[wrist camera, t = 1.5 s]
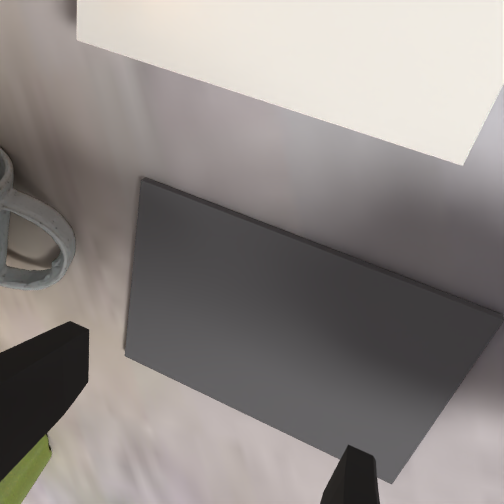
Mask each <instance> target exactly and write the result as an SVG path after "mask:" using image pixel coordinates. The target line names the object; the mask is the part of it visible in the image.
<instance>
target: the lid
mask: <svg viewBox="0 0 504 504" xmlns="http://www.w3.org/2000/svg"><path fill="white" fill-rule="evenodd" d="M77 41H80V42H83V43H87V44H90V45H93V46H96V47H99V48H102V49H105V50H108V51H111V52H114V53H117V54H120V55H123V56H126V57H130V58H133V59H136V60H139V61H142V62H145V63H148V64H151V65H154V66H157V67H160V68H163V69H166V70H169V71H173V72H176V73H179V74H182V75H185V76H188V77H191V78H194V79H197V80H200V81H203V82H206V83H209V84H213V85H216V86H219V87H222V88H225V89H228V90H231V91H234V92H237V93H240V94H243V95H246V96H249V97H252V98H256V99H259V100H262V101H265V102H268V103H271V104H274V105H277V106H280V107H283V108H286V109H289V110H292V111H295V112H299V113H302V114H305V115H308V116H311V117H314V118H317V119H320V120H323V121H326V122H329V123H332V124H335V125H338V126H342V127H345V128H348V129H351V130H354V131H357V132H360V133H363V134H366V135H369V136H372V137H375V138H378V139H381V140H385V141H388V142H391V143H394V144H397V145H400V146H403V147H406V148H409V149H412V150H415V151H418V152H421V153H424V154H428V155H431V156H434V157H437V158H440V159H443V160H446V161H449V162H452V163H455V164H458V165H461V166H463V164H464V162H465V160H466V158H467V156H468V154H469V152H470V150H471V148H472V146H473V144H474V142H475V140H476V138H477V136H478V134H479V132H480V130H481V128H482V126H483V124H484V122H485V120H486V118H487V116H488V114H489V112H490V110H491V108H492V106H493V104H494V102H495V100H496V98H497V96H498V94H499V92H500V90H501V88H502V86H503V84H504V0H77Z"/></svg>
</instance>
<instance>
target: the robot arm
mask: <svg viewBox="0 0 504 504" xmlns="http://www.w3.org/2000/svg"><path fill="white" fill-rule="evenodd" d="M88 370H89V329H87V328H85V327H82V326H80V325H78V324H76V323H73V322H71V321H69V322H67V323H65V324H62V325H60V326H58V327H56V328H53V329H51V330H49V331H47V332H45V333H43V334H40V335H38V336H36V337H34V338H32V339H30V340H27V341H25V342H23V343H21V344H19V345H17V346H14V347H12V348H10V349H8V350H5V351H3V352H1V353H0V482H1V481H2V480H3V479H4V478H5V477H6V476H7V474H8V473H9V472H10V471H11V470H12V469H13V468H14V467H15V466H16V465H17V464H18V463H19V462H20V461H21V460H22V459H23V458H24V457H25V456H26V454H27V453H28V452H29V451H30V450H31V449H32V448H33V447H34V446H35V445H36V444H37V443H38V442H39V441H40V440H41V439H42V438H43V437H44V435H45V434H46V433H47V432H48V431H49V430H50V429H51V428H52V427H53V426H54V425H55V424H56V423H57V422H58V420H59V419H60V418H61V417H62V416H63V415H64V414H65V413H66V411H67V410H68V409H69V407H70V406H71V405H72V403H73V402H74V401H75V399H76V398H77V397H78V395H79V394H80V393H81V391H82V390H83V388H84V387H85V386H86V384H87V383H88ZM320 504H380V501H379V492H378V483H377V470H376V460H375V458H374V456H373V455H371V454H369V453H366V452H364V451H362V450H360V449H357V448H355V447H353V446H351V445H348V446H347V448H346V450H345V452H344V453H343V455H342V457H341V459H340V461H339V463H338V465H337V467H336V469H335V471H334V473H333V475H332V477H331V479H330V481H329V482H328V484H327V486H326V488H325V490H324V492H323V496H322V499H321V503H320Z"/></svg>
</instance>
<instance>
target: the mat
mask: <svg viewBox="0 0 504 504" xmlns="http://www.w3.org/2000/svg"><path fill="white" fill-rule="evenodd" d="M503 321H504V317H503V315H502V314H500V313H497V312H494V311H492V310H489V309H487V308H484V307H481V306H479V305H476V304H474V303H471V302H468V301H466V300H463V299H461V298H458V297H455V296H453V295H450V294H448V293H445V292H442V291H440V290H437V289H435V288H432V287H429V286H427V285H424V284H422V283H419V282H416V281H414V280H411V279H409V278H406V277H403V276H401V275H398V274H396V273H393V272H390V271H388V270H385V269H383V268H380V267H377V266H375V265H372V264H370V263H367V262H364V261H362V260H359V259H357V258H354V257H351V256H349V255H346V254H343V253H341V252H338V251H336V250H333V249H330V248H328V247H325V246H323V245H320V244H317V243H315V242H312V241H310V240H307V239H304V238H302V237H299V236H297V235H294V234H291V233H289V232H286V231H284V230H281V229H278V228H276V227H273V226H271V225H268V224H265V223H263V222H260V221H258V220H255V219H252V218H250V217H247V216H245V215H242V214H239V213H237V212H234V211H232V210H229V209H226V208H224V207H221V206H219V205H216V204H213V203H211V202H208V201H206V200H203V199H200V198H198V197H195V196H193V195H190V194H187V193H185V192H182V191H180V190H177V189H174V188H172V187H169V186H167V185H164V184H161V183H159V182H156V181H153V180H151V179H148V178H144V179H142V180H141V187H140V198H139V208H138V219H137V230H136V241H135V251H134V262H133V273H132V283H131V294H130V305H129V316H128V326H127V337H126V348H125V356H126V357H128V358H130V359H132V360H134V361H136V362H138V363H140V364H142V365H144V366H147V367H149V368H151V369H153V370H155V371H157V372H159V373H161V374H163V375H165V376H167V377H169V378H172V379H174V380H176V381H178V382H180V383H182V384H184V385H186V386H188V387H190V388H192V389H194V390H197V391H199V392H201V393H203V394H205V395H207V396H209V397H211V398H213V399H215V400H217V401H219V402H221V403H224V404H226V405H228V406H230V407H232V408H234V409H236V410H238V411H240V412H242V413H244V414H246V415H249V416H251V417H253V418H255V419H257V420H259V421H261V422H263V423H265V424H267V425H269V426H271V427H274V428H276V429H278V430H280V431H282V432H284V433H286V434H288V435H290V436H292V437H294V438H296V439H298V440H301V441H303V442H305V443H307V444H309V445H311V446H313V447H315V448H317V449H319V450H321V451H323V452H326V453H328V454H330V455H332V456H334V457H336V458H338V459H341V457H342V455H343V453H344V452H345V450H346V448H347V446H348V445H351V446H353V447H355V448H357V449H360V450H362V451H364V452H366V453H369V454H371V455H373V456H374V458H375V460H376V470H377V477H378V478H380V479H382V480H384V481H386V482H388V483H390V484H392V483H393V482H394V481H395V479H396V478H397V476H398V475H399V473H400V472H401V470H402V469H403V467H404V466H405V464H406V463H407V462H408V460H409V459H410V457H411V456H412V454H413V453H414V451H415V450H416V448H417V447H418V445H419V444H420V443H421V441H422V440H423V438H424V437H425V435H426V434H427V432H428V431H429V429H430V428H431V426H432V425H433V424H434V422H435V421H436V419H437V418H438V416H439V415H440V413H441V412H442V410H443V409H444V407H445V406H446V405H447V403H448V402H449V400H450V399H451V397H452V396H453V394H454V393H455V391H456V390H457V388H458V387H459V386H460V384H461V383H462V381H463V380H464V378H465V377H466V375H467V374H468V372H469V371H470V369H471V368H472V367H473V365H474V364H475V362H476V361H477V359H478V358H479V356H480V355H481V353H482V352H483V350H484V349H485V348H486V346H487V345H488V343H489V342H490V340H491V339H492V337H493V336H494V334H495V333H496V331H497V330H498V329H499V327H500V326H501V324H502V323H503Z"/></svg>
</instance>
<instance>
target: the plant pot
mask: <svg viewBox="0 0 504 504" xmlns="http://www.w3.org/2000/svg"><path fill="white" fill-rule="evenodd" d="M51 455H52V451H51V450H49V446H48V438H47V436H46V434H45V435H44V437H43V438H42V439H41V440H40V441H39V442H38V443H37V444H36V445H35V446H34V447H33V448H32V449H31V450H30V451H29V452H28V453H27V454H26V456H25V457H24V458H23V459H22V460H21V461H20V462H19V463H18V464H17V465H16V466H15V467H14V468H13V469H12V470H11V471H10V472H9V473H8V474H7V476H6V477H5V478H4V479H3V480H2V481H1V482H0V504H21V503H22V501H23V500H24V498H25V497H26V495H27V494H28V492H29V491H30V489H31V488H32V486H33V485H34V483H35V481H36V480H37V478H38V477H39V475H40V474H41V472H42V471H43V469H44V467H45V466H46V464H47V463H48V461H49V460H50V458H51Z"/></svg>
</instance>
